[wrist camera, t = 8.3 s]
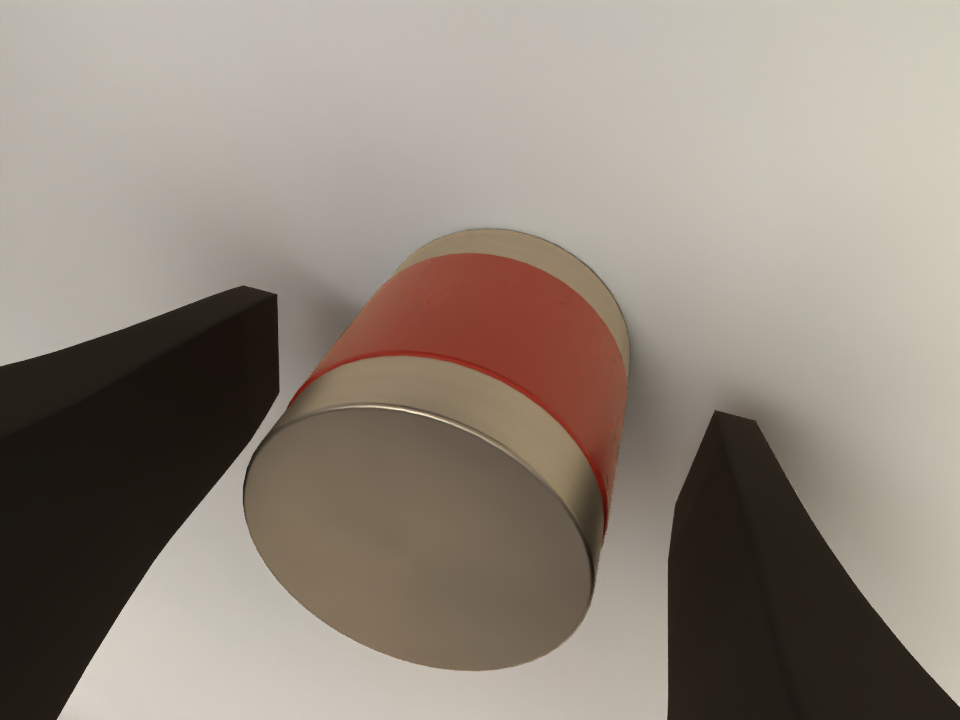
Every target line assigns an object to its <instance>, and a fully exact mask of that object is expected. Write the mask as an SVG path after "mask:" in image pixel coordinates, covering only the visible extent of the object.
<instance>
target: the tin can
mask: <svg viewBox="0 0 960 720" xmlns="http://www.w3.org/2000/svg"><path fill="white" fill-rule="evenodd" d="M629 364H630V345H629V337H628V333H627V329H626V325H625V322H624V319H623V317H622V314H621V312H620V309H619V307H618V305H617V304H616V302H615V300H614V298H613V297H612V295H611V293H610V292H609V291H608V289H607V288H606V287H605V286H604V284H603V283H602V282H601V280H600V279H599V278H598V277H597V276H596V275H595V274H594V273H593V272H592V271H591V270H590V269H589V268H588V267H587V266H586V265H584V264H583V263H582V262H580V261H579V260H578V259H577V258H575V257H574V256H573V255H571V254H569V253H568V252H566V251H564V250H563V249H561V248H559V247H558V246H556V245H554V244H551V243H549V242H547V241H545V240H542V239H540V238H537V237H534V236H530V235H527V234H524V233H520V232H514V231H508V230H499V229H477V230H467V231H462V232H457V233H452V234H449V235H447V236H444V237H441V238H438V239H436V240H434V241H432V242H430V243H428V244H426V245H425V246H423V247H421V248H420V249H419V250H417V251H416V252H415V253H413V254H412V255H411V256H409V257H408V258H407V260H406V261H405V262H404V263H403V264H402V265H401V266H400V267H399V268H398V269H397V271H396V272H395V273H394V274H393V276H392V277H391V278H390V279H389V280H388V281H387V282H386V283H385V284H384V285H383V286H382V287H381V288H380V289H379V290H378V291H377V292H376V293H375V294H374V296H373V297H372V298H371V299H370V301H369V302H368V303H367V304H366V306H365V307H364V308H363V309H362V311H361V312H360V313H359V314H358V316H357V317H356V318H355V319H354V321H353V322H352V323H351V324H350V326H349V327H348V328H347V329H346V331H345V332H344V333H343V334H342V336H341V337H340V338H339V340H338V341H337V342H336V343H335V345H334V346H333V347H332V348H331V350H330V351H329V352H328V353H327V355H326V356H325V357H324V358H323V360H322V361H321V362H320V363H319V365H318V366H317V367H316V368H315V370H314V371H313V372H312V373H311V375H310V376H309V377H308V378H307V380H306V381H305V382H304V383H303V385H302V386H301V387H300V388H299V390H298V391H297V393H296V394H295V395H294V397H293V398H292V400H291V401H290V403H289V405H288V407H287V409H286V411H285V412H284V414H283V415H282V416H281V417H280V419H279V420H278V421H277V423H276V424H275V425H274V426H273V428H272V429H271V430H270V431H269V433H268V434H267V435H266V436H265V438H264V439H263V440H262V442H261V443H260V445H259V446H258V447H257V449H256V450H255V452H254V453H253V455H252V458H251V460H250V462H249V465H248V467H247V470H246V475H245V480H244V485H243V507H244V513H245V519H246V523H247V526H248V529H249V532H250V535H251V538H252V540H253V542H254V544H255V546H256V549H257V551H258V552H259V554H260V556H261V557H262V559H263V561H264V562H265V564H266V565H267V567H268V568H269V570H270V571H271V572H272V574H273V575H274V576H275V577H276V579H277V580H278V581H279V582H280V584H281V585H282V586H283V587H284V588H285V589H286V590H287V591H288V592H289V593H290V594H291V595H292V596H293V597H294V598H295V599H296V600H297V601H298V602H299V603H300V604H302V605H303V606H304V607H305V608H306V609H307V610H308V611H310V612H311V613H312V614H314V615H315V616H316V617H318V618H319V619H320V620H321V621H323V622H324V623H326V624H327V625H329V626H331V627H332V628H334V629H335V630H337V631H338V632H340V633H342V634H343V635H345V636H347V637H349V638H351V639H353V640H354V641H356V642H358V643H360V644H362V645H365V646H367V647H369V648H371V649H373V650H376V651H378V652H381V653H383V654H386V655H389V656H392V657H394V658H397V659H401V660H404V661H408V662H411V663H415V664H419V665H424V666H429V667H434V668H440V669H448V670H457V671H485V670H497V669H503V668H509V667H514V666H518V665H521V664H524V663H528V662H531V661H533V660H535V659H538V658H540V657H542V656H545V655H547V654H548V653H550V652H551V651H553V650H554V649H556V648H558V647H559V646H560V645H562V644H563V643H564V642H565V641H566V640H567V639H568V638H569V637H570V636H572V634H573V633H574V632H575V630H576V629H577V628H578V627H579V625H580V624H581V623H582V621H583V620H584V618H585V616H586V614H587V611H588V609H589V607H590V605H591V601H592V597H593V593H594V588H595V582H596V575H597V569H598V563H599V556H600V550H601V548H602V545H603V543H604V539H605V535H606V531H607V526H608V519H609V513H610V506H611V500H612V493H613V487H614V480H615V473H616V467H617V460H618V454H619V447H620V441H621V434H622V428H623V421H624V415H625V408H626V399H627V379H628V373H629Z"/></svg>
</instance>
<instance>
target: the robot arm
mask: <svg viewBox="0 0 960 720" xmlns="http://www.w3.org/2000/svg"><path fill="white" fill-rule="evenodd" d="M278 394H279V350H278V308H277V294H274V293H270V292H266V291H262V290H259V289H255V288H251V287H247V286H244V285H243V286H240V287H236V288H233V289H230V290H227V291H224V292H221V293H218V294H215V295H212V296H210V297H207V298H204V299H202V300H199V301H196V302H194V303H191V304H188V305H186V306H183V307H181V308H178V309H175V310H173V311H170V312H167V313H165V314H162V315H160V316H157V317H154V318H152V319H149V320H146V321H144V322H141V323H138V324H136V325H133V326H130V327H128V328H125V329H122V330H119V331H116V332H113V333H110V334H107V335H104V336H101V337H98V338H95V339H92V340H89V341H86V342H83V343H80V344H77V345H74V346H71V347H68V348H65V349H62V350H59V351H56V352H52V353H49V354H46V355H42V356H38V357H35V358H31V359H28V360H24V361H20V362H16V363H12V364H8V365H4V366H0V720H57V718H58V716H59V714H60V713H61V711H62V709H63V707H64V706H65V704H66V702H67V701H68V699H69V697H70V695H71V694H72V692H73V690H74V688H75V687H76V685H77V683H78V681H79V680H80V678H81V676H82V674H83V673H84V671H85V669H86V667H87V666H88V664H89V662H90V661H91V659H92V658H93V656H94V654H95V653H96V651H97V649H98V648H99V646H100V645H101V643H102V641H103V640H104V638H105V637H106V635H107V633H108V632H109V630H110V628H111V627H112V625H113V624H114V622H115V620H116V619H117V617H118V615H119V614H120V612H121V611H122V609H123V607H124V606H125V604H126V603H127V601H128V600H129V598H130V597H131V595H132V594H133V592H134V591H135V589H136V588H137V586H138V585H139V583H140V582H141V580H142V578H143V577H144V575H145V574H146V572H147V571H148V569H149V568H150V566H151V565H152V563H153V562H154V560H155V559H156V558H157V556H158V555H159V554H160V552H161V551H162V550H163V548H164V547H165V546H166V544H167V543H168V542H169V540H170V539H171V538H172V536H173V535H174V534H175V533H176V531H177V530H178V529H179V528H180V527H181V525H182V524H183V523H184V522H185V520H186V519H187V518H188V517H189V516H190V514H191V513H192V512H193V511H194V510H195V508H196V507H197V506H198V505H199V503H200V502H201V501H202V500H203V499H204V497H205V496H206V495H207V494H208V492H209V491H210V490H211V489H212V488H213V486H214V485H215V484H216V483H217V482H218V480H219V479H220V478H221V477H222V475H223V474H224V473H225V472H226V471H227V469H228V468H229V467H230V466H231V464H232V463H233V462H234V461H235V459H236V458H237V457H238V456H239V454H240V453H241V452H242V451H243V449H244V448H245V447H246V446H247V444H248V443H249V442H250V440H251V439H252V437H253V436H254V434H255V433H256V431H257V429H258V428H259V426H260V425H261V423H262V421H263V420H264V418H265V417H266V415H267V413H268V411H269V410H270V408H271V406H272V404H273V403H274V401H275V399H276V397H277V396H278ZM667 720H960V707H959V706H958V705H957V704H956V703H955V702H954V701H953V700H952V699H951V698H950V696H949V695H948V694H947V693H946V692H945V691H944V690H943V689H942V688H941V687H940V686H939V685H938V684H937V683H936V682H935V680H934V679H933V678H932V677H931V676H930V675H929V674H928V673H927V672H926V671H925V670H924V668H923V667H922V666H921V665H920V664H919V663H918V662H917V661H916V659H915V658H914V657H913V656H912V655H911V654H910V653H909V651H908V650H907V649H906V648H905V647H904V646H903V644H902V643H901V642H900V641H899V639H898V638H897V637H896V636H895V634H894V633H893V632H892V631H891V630H890V628H889V627H888V626H887V625H886V623H885V622H884V621H883V620H882V618H881V617H880V616H879V615H878V614H877V612H876V611H875V610H874V609H873V607H872V606H871V605H870V604H869V602H868V601H867V600H866V598H865V597H864V596H863V594H862V593H861V592H860V590H859V589H858V588H857V586H856V585H855V584H854V582H853V581H852V579H851V578H850V576H849V575H848V574H847V572H846V571H845V569H844V568H843V566H842V565H841V564H840V562H839V561H838V559H837V558H836V556H835V555H834V553H833V552H832V551H831V549H830V548H829V546H828V545H827V543H826V542H825V540H824V538H823V537H822V535H821V534H820V532H819V531H818V529H817V528H816V526H815V524H814V523H813V521H812V520H811V518H810V516H809V515H808V513H807V511H806V510H805V508H804V506H803V505H802V503H801V501H800V500H799V498H798V496H797V495H796V493H795V491H794V489H793V488H792V486H791V484H790V482H789V480H788V479H787V477H786V475H785V473H784V472H783V470H782V468H781V466H780V464H779V463H778V461H777V459H776V457H775V455H774V453H773V452H772V450H771V448H770V446H769V444H768V442H767V441H766V439H765V437H764V435H763V433H762V432H761V430H760V428H759V426H758V425H757V423H756V421H754V420H750V419H747V418H743V417H739V416H735V415H732V414H728V413H724V412H720V411H716V410H715V411H714V413H713V416H712V418H711V421H710V423H709V425H708V428H707V430H706V432H705V435H704V437H703V440H702V442H701V444H700V447H699V449H698V452H697V454H696V456H695V459H694V461H693V463H692V466H691V468H690V471H689V473H688V475H687V478H686V480H685V482H684V485H683V487H682V490H681V492H680V494H679V497H678V499H677V501H676V504H675V511H674V518H673V525H672V533H671V541H670V549H669V557H668V716H667Z"/></svg>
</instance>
